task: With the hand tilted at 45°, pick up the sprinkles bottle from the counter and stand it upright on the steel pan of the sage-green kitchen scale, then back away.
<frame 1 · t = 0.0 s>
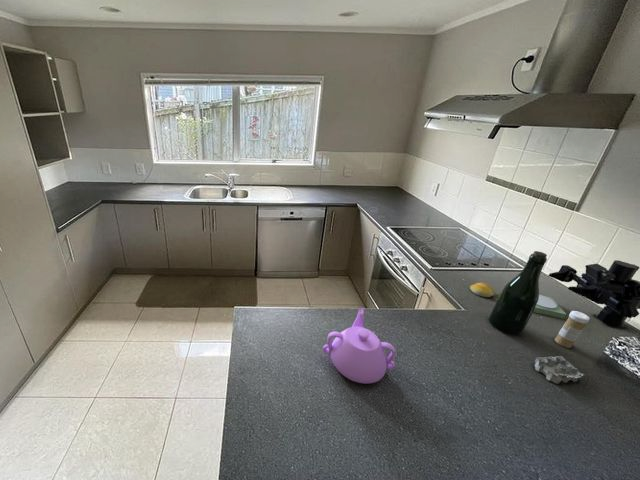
hand: (558, 281, 111), 17 cm above the worktop, tool horizontal, fingers open, 9 cm apart
bread roll: (480, 292, 131), on the worktop
sprinkles bottle: (562, 343, 103), on the worktop
beer bottle: (504, 326, 110), on the worktop
scale: (535, 305, 123), on the worktop
teapot: (355, 359, 93), on the worktop
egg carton: (554, 373, 91), on the worktop
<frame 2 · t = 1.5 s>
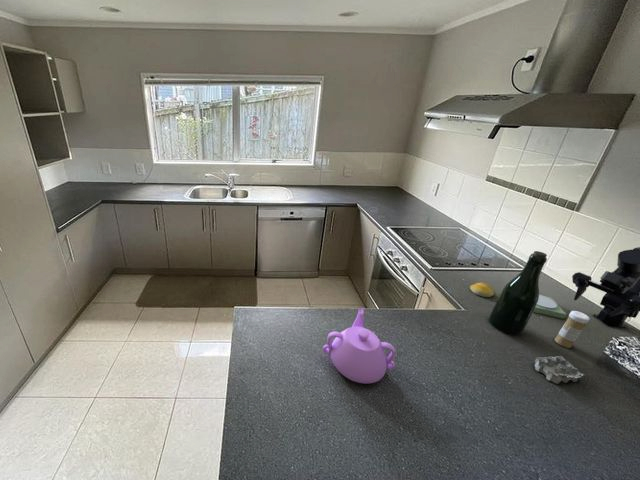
hand: (591, 307, 101), 14 cm above the worktop, tool tilted 45°, fingers open, 9 cm apart
nothing on the worktop moved.
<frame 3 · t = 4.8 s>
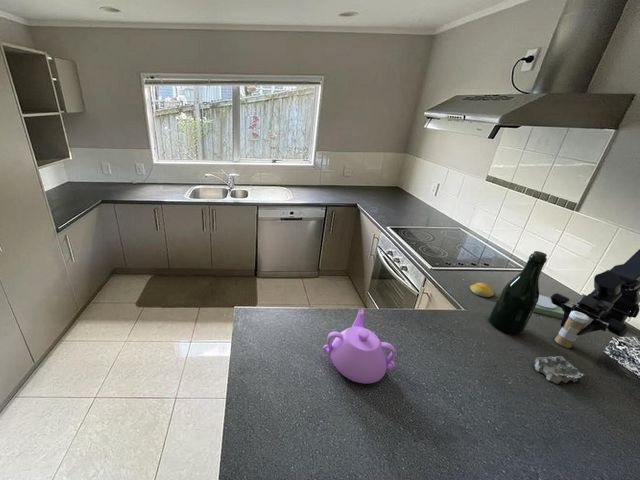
hand: (569, 330, 100), 7 cm above the worktop, tool tilted 45°, fingers closed on sprinkles bottle, 4 cm apart
sprinkles bottle: (562, 343, 103), on the worktop, touching gripper
everything else where it was.
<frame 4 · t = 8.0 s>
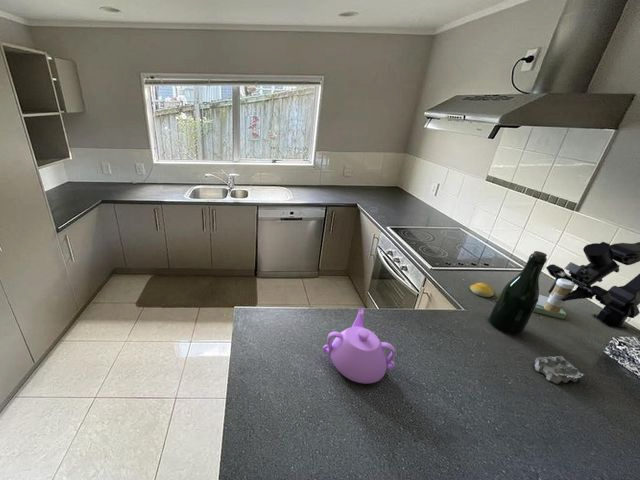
hand: (555, 296, 107), 14 cm above the worktop, tool tilted 45°, fingers closed on sprinkles bottle, 4 cm apart
sprinkles bottle: (550, 310, 109), point 7 cm above the worktop, touching gripper
everything else where it was.
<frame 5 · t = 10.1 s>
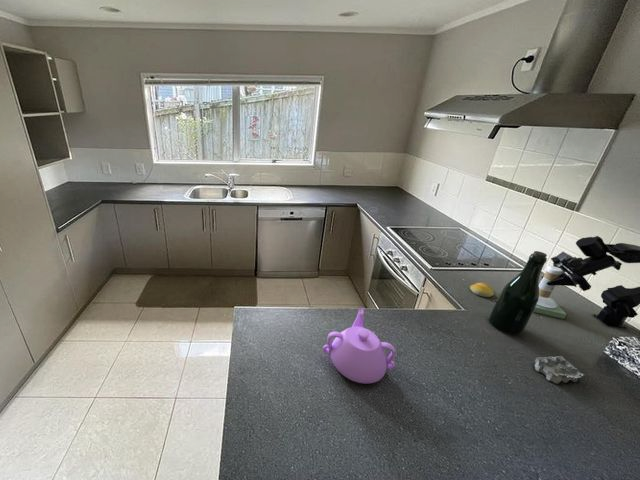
hand: (544, 281, 119), 12 cm above the worktop, tool tilted 45°, fingers closed on sprinkles bottle, 4 cm apart
sprinkles bottle: (541, 295, 121), point 6 cm above the worktop, touching gripper
everything else where it was.
when the fingers open (10 cm above the worktop, at t = 11.3 s): sprinkles bottle stays where it is, resting on scale.
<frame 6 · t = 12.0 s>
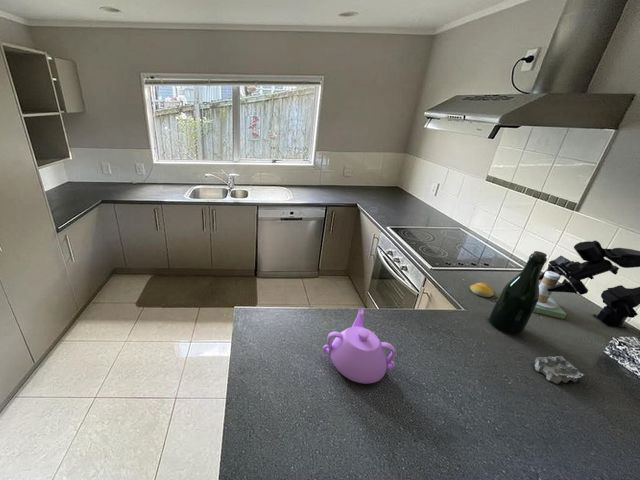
hand: (542, 284, 119), 11 cm above the worktop, tool tilted 45°, fingers open, 9 cm apart
sprinkles bottle: (539, 300, 122), point 3 cm above the worktop, touching scale
everything else where it was.
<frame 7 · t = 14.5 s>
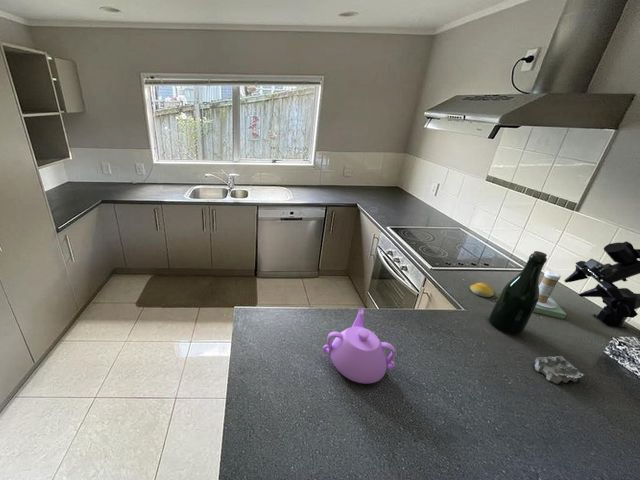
hand: (571, 288, 116), 12 cm above the worktop, tool tilted 40°, fingers open, 9 cm apart
nothing on the worktop moved.
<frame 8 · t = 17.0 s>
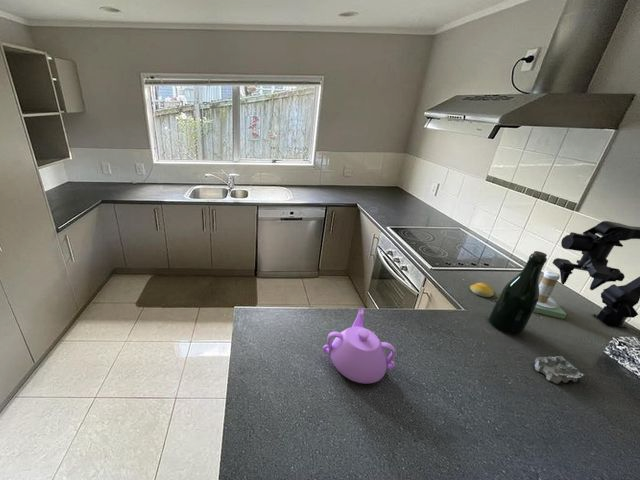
hand: (576, 286, 114), 13 cm above the worktop, tool pointing down, fingers open, 9 cm apart
sprinkles bottle: (539, 300, 122), point 3 cm above the worktop, touching gripper, scale
everything else where it was.
at the end: sprinkles bottle inside the target area on the scale (0.2 cm from its centre), point 3.1 cm above the scale's base; sprinkles bottle tilted 2°; the gripper is holding nothing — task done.
